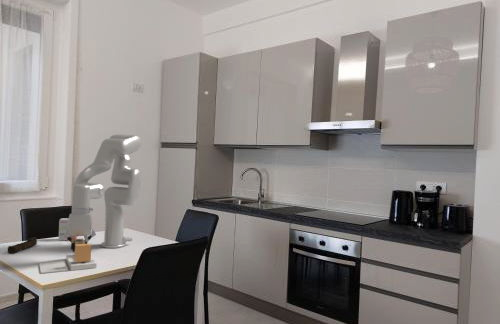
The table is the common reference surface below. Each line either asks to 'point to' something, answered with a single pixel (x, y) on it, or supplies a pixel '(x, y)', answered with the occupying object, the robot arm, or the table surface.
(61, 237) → the ink box
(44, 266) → the tool mat
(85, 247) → the slide tab
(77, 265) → the switch housing
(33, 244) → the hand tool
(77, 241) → the tan block on stem
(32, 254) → the table surface
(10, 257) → the table surface
